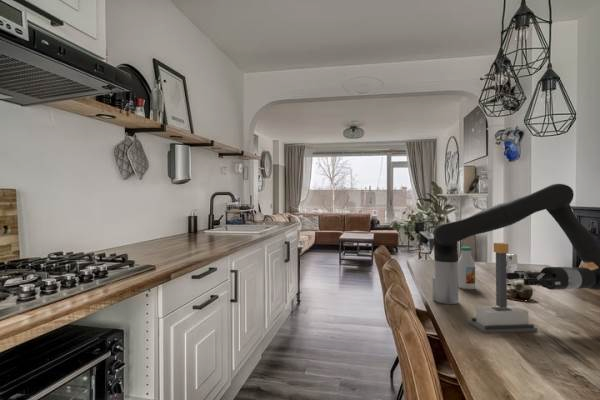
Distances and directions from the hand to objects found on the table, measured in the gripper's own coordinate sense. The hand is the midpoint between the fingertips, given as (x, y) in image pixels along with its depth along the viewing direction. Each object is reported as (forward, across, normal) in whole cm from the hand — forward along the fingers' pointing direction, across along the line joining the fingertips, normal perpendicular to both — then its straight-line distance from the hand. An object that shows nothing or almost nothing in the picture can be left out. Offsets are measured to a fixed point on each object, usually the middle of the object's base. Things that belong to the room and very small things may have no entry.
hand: (515, 278), depth 115 cm
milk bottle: (-13, -52, +16) cm, 56 cm away
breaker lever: (+5, 0, +10) cm, 11 cm away
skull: (-25, -33, +16) cm, 44 cm away
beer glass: (-39, -58, +16) cm, 72 cm away
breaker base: (+5, 0, +16) cm, 17 cm away
